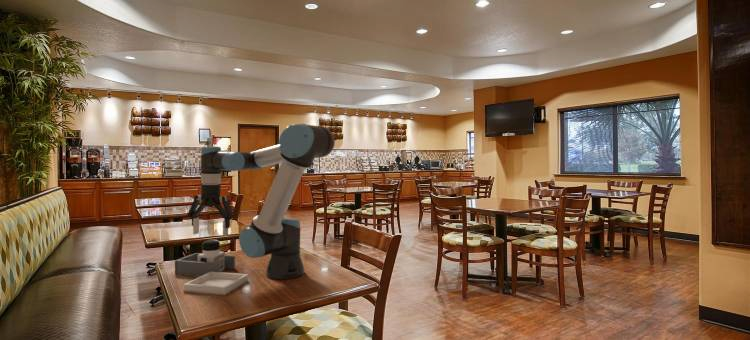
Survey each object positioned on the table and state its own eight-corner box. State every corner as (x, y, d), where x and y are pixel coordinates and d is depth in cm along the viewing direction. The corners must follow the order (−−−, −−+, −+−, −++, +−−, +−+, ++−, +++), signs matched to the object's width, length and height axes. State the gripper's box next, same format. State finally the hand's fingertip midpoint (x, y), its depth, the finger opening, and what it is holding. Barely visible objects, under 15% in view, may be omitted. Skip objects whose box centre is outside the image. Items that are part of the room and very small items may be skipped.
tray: (248, 281, 153) (248, 274, 153) (224, 295, 137) (224, 287, 137) (211, 277, 156) (211, 271, 156) (183, 291, 140) (183, 284, 140)
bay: (235, 268, 169) (235, 255, 169) (217, 277, 156) (217, 263, 156) (195, 265, 173) (195, 252, 173) (175, 274, 160) (174, 260, 160)
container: (214, 275, 160) (214, 243, 159) (197, 273, 161) (196, 242, 161) (224, 269, 167) (224, 239, 167) (208, 268, 169) (208, 238, 168)
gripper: (243, 184, 164) (242, 235, 165) (190, 182, 169) (189, 231, 170) (233, 185, 157) (232, 238, 158) (178, 183, 162) (177, 234, 163)
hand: (210, 235), depth 164 cm, fingers open, 13 cm apart
